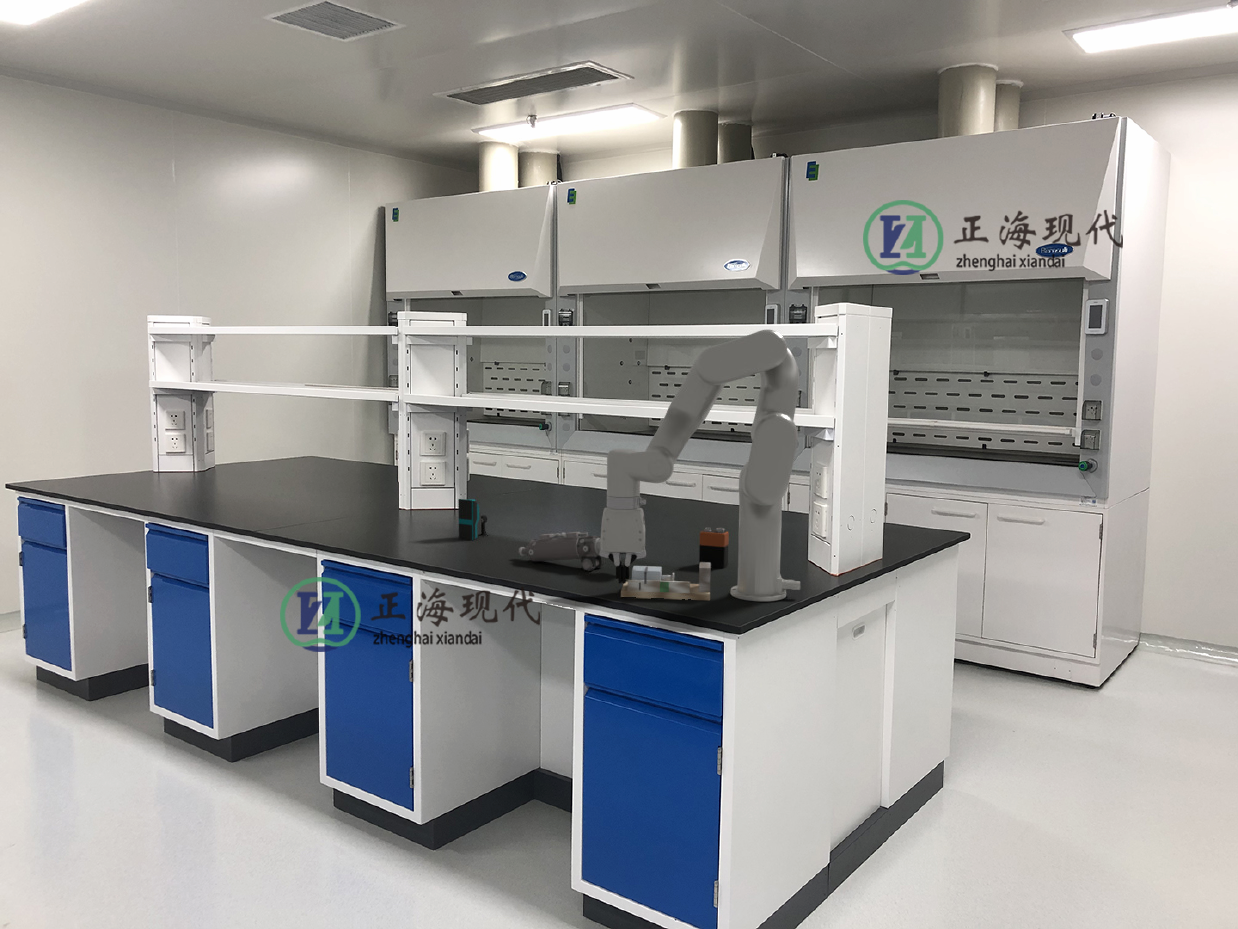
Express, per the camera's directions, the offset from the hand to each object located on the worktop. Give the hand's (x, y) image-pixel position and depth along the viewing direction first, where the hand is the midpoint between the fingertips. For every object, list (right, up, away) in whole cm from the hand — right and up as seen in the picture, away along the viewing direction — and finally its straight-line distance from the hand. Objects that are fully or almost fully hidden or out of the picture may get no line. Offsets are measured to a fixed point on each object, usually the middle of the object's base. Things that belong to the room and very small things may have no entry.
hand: (622, 582), depth 215 cm
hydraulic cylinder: (-12, 0, +27) cm, 29 cm away
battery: (+24, 0, +29) cm, 38 cm away
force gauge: (+7, -1, -2) cm, 7 cm away
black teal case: (-44, +5, +66) cm, 79 cm away
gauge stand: (+10, -3, -1) cm, 10 cm away
